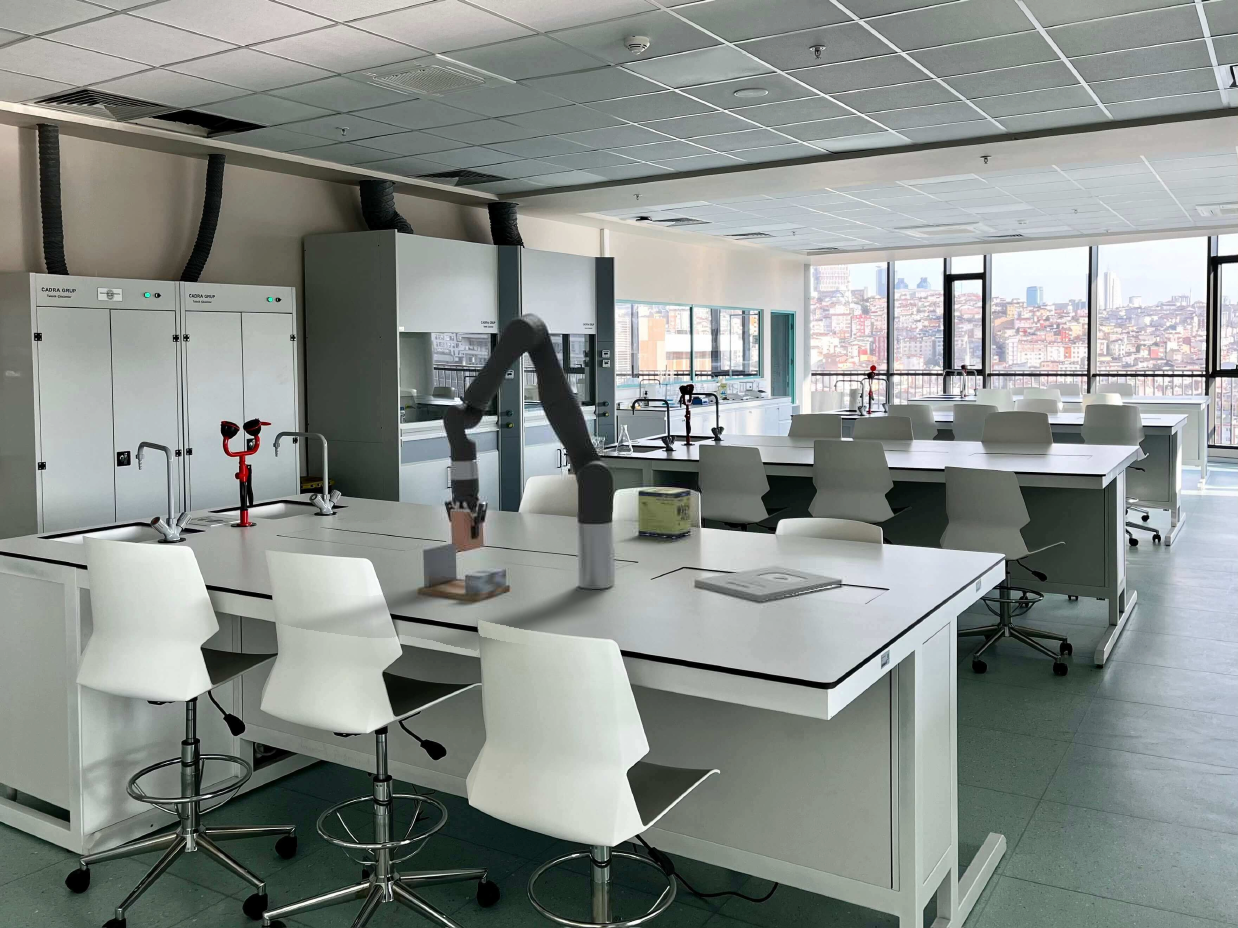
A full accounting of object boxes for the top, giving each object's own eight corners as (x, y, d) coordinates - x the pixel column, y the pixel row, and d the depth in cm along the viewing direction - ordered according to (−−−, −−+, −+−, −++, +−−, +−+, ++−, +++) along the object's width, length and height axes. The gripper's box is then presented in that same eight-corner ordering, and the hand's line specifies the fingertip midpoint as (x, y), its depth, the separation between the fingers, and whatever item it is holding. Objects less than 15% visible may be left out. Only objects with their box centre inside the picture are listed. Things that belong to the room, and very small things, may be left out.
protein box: (676, 538, 352) (676, 493, 351) (637, 535, 360) (637, 490, 359) (691, 534, 361) (691, 489, 359) (653, 531, 369) (652, 487, 368)
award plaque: (694, 587, 276) (694, 579, 276) (775, 573, 294) (775, 565, 293) (759, 603, 256) (759, 595, 256) (842, 587, 274) (842, 579, 274)
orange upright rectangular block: (471, 545, 292) (469, 506, 291) (483, 546, 289) (482, 506, 288) (452, 550, 285) (450, 509, 284) (464, 551, 282) (463, 510, 281)
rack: (453, 583, 282) (453, 561, 281) (509, 590, 272) (509, 568, 272) (418, 593, 270) (417, 570, 270) (475, 601, 260) (475, 577, 260)
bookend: (452, 578, 280) (451, 543, 279) (456, 578, 279) (455, 543, 278) (424, 585, 271) (423, 549, 270) (428, 586, 270) (427, 550, 269)
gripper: (493, 476, 285) (496, 537, 286) (454, 474, 292) (457, 534, 294) (475, 479, 278) (478, 542, 280) (435, 477, 286) (438, 539, 287)
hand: (467, 538), depth 287 cm, fingers closed on orange upright rectangular block, 4 cm apart
